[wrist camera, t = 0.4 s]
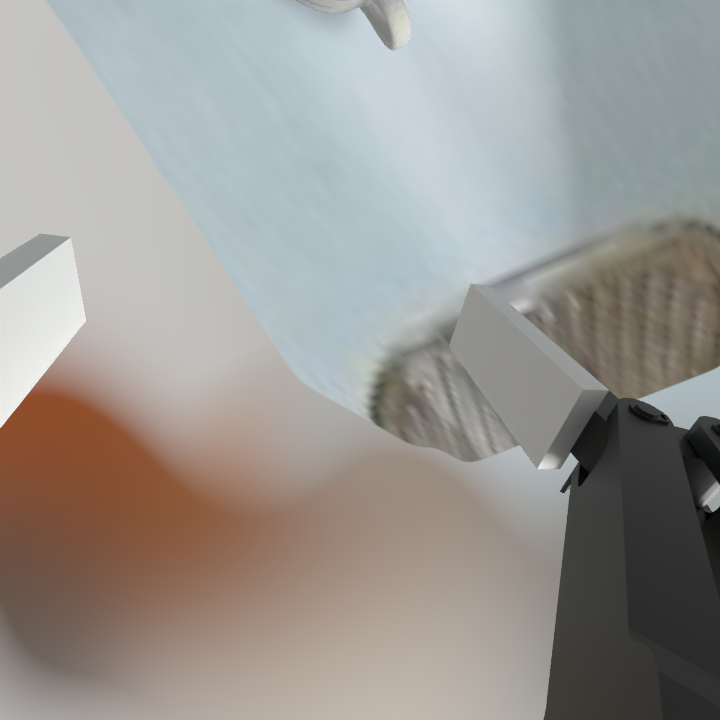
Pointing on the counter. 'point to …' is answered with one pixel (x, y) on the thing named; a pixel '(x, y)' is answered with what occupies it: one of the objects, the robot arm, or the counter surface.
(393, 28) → the teacup
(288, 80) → the counter surface
